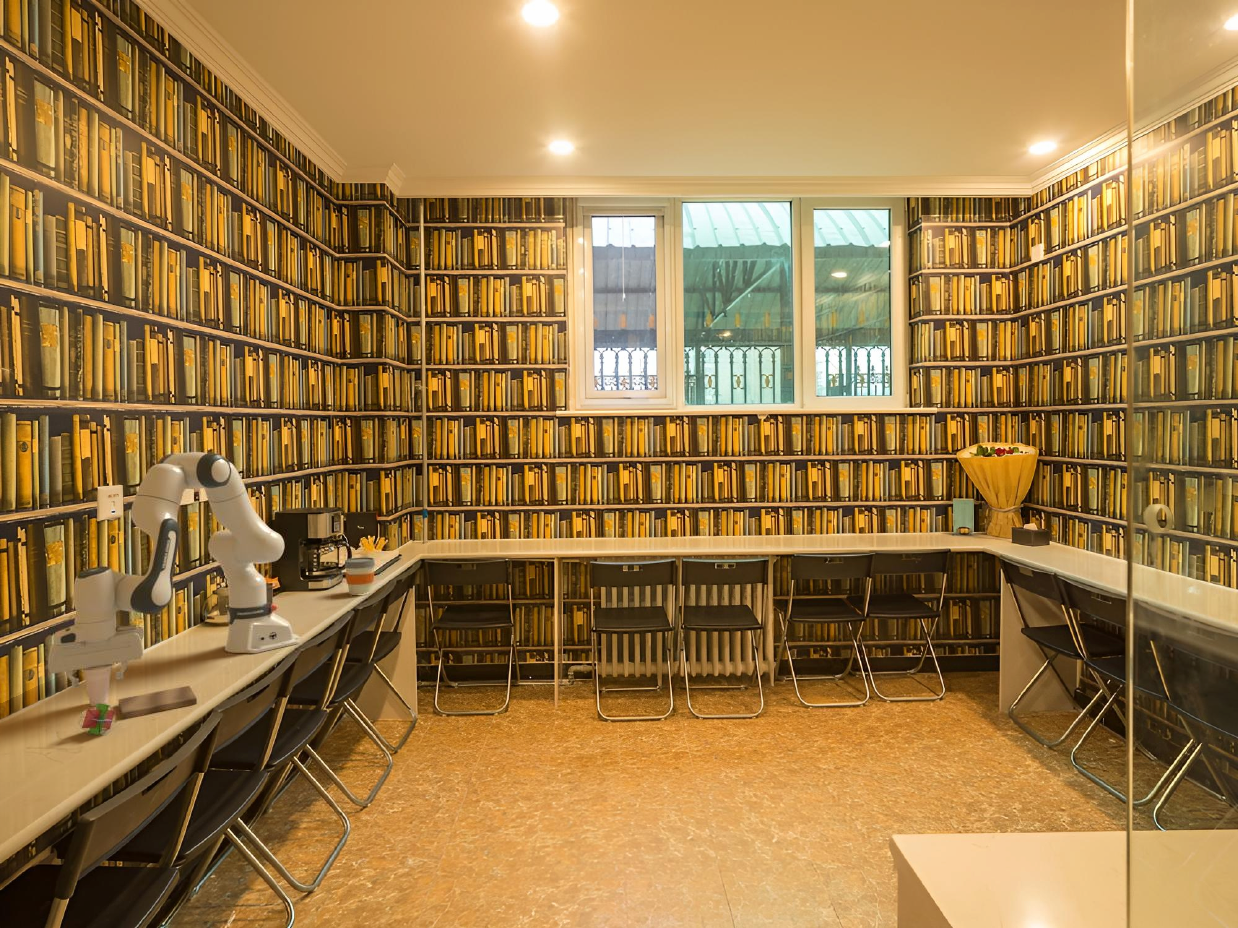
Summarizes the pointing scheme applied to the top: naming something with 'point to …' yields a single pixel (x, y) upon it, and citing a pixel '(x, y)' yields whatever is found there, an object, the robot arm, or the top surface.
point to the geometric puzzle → (97, 719)
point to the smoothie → (97, 683)
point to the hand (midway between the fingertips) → (97, 682)
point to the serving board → (157, 701)
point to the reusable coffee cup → (359, 574)
